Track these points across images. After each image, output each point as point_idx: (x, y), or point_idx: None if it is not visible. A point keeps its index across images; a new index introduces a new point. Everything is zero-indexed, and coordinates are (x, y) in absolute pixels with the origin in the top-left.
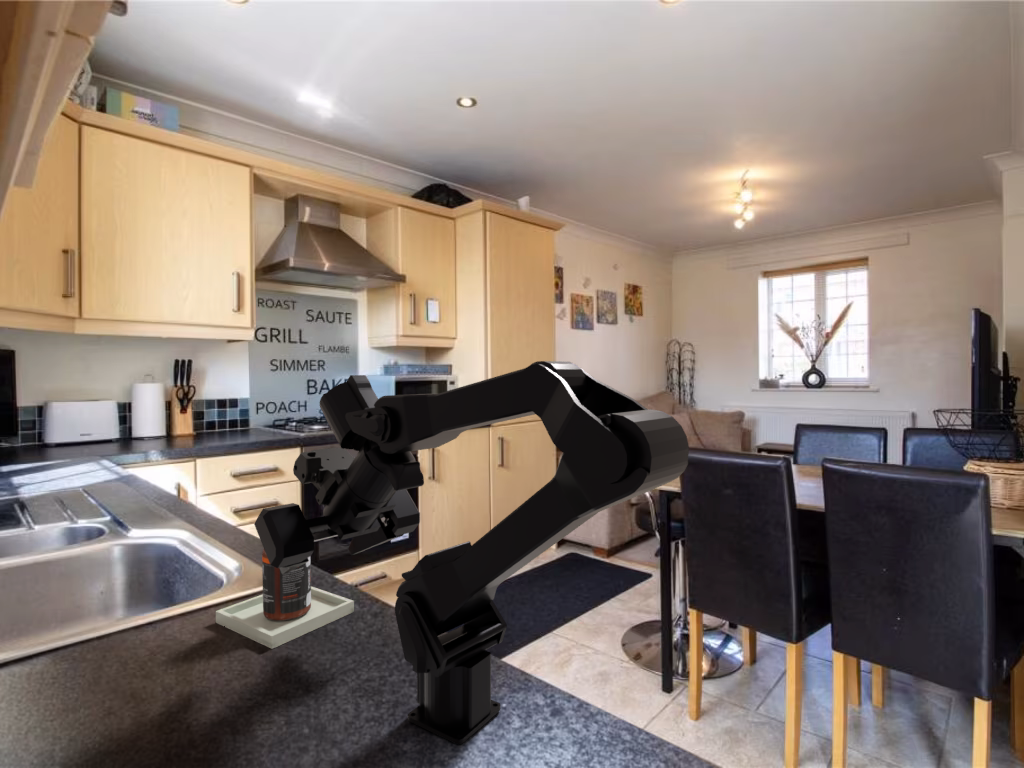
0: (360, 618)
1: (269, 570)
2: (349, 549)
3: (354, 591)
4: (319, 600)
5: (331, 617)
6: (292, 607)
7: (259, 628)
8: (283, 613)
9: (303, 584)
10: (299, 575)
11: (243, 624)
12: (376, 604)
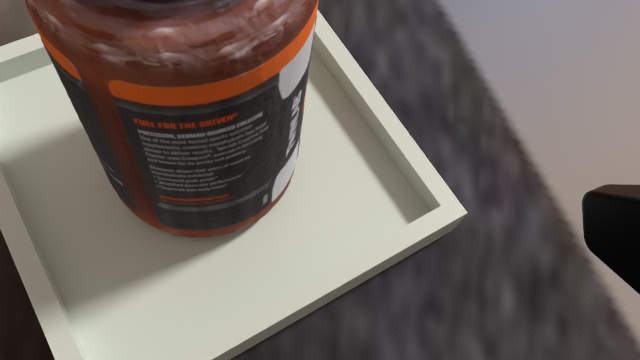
0: (473, 300)
1: (68, 85)
2: (591, 211)
3: (465, 58)
4: (335, 103)
5: (363, 279)
6: (208, 220)
7: (53, 318)
8: (170, 228)
9: (261, 160)
10: (238, 145)
11: (4, 237)
12: (540, 201)
